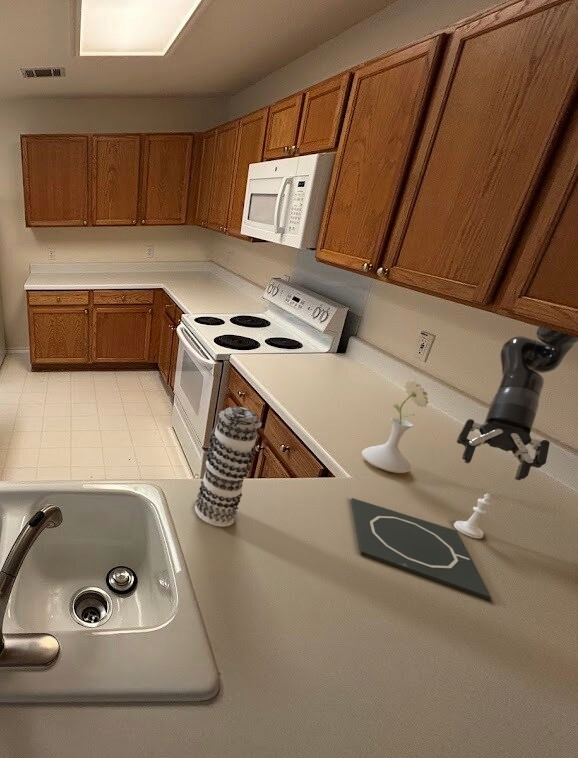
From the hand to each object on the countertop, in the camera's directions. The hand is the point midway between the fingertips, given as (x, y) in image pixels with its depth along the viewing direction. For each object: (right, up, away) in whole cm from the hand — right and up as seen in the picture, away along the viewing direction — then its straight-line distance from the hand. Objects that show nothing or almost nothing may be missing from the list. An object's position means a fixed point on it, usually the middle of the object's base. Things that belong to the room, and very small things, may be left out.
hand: (492, 470), depth 92 cm
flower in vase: (-7, -4, +24) cm, 25 cm away
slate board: (-23, -14, -6) cm, 28 cm away
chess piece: (-6, -14, 0) cm, 15 cm away
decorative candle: (-63, -9, -2) cm, 64 cm away
